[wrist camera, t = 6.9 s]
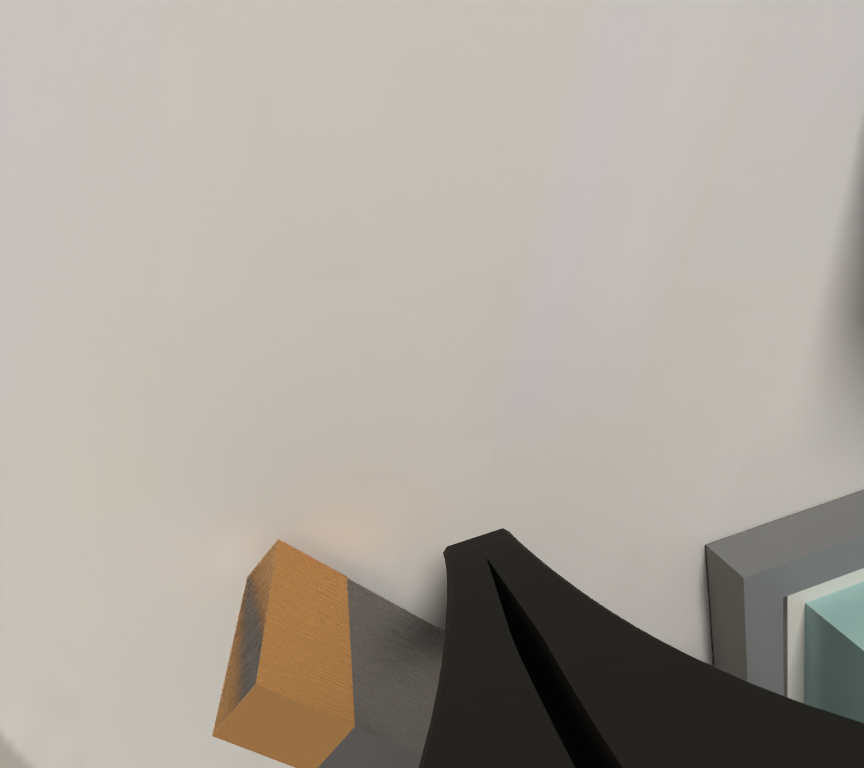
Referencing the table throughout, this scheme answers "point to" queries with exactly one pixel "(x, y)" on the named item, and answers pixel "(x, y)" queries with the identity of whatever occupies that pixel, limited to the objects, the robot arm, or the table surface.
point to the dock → (776, 582)
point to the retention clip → (327, 670)
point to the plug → (826, 646)
